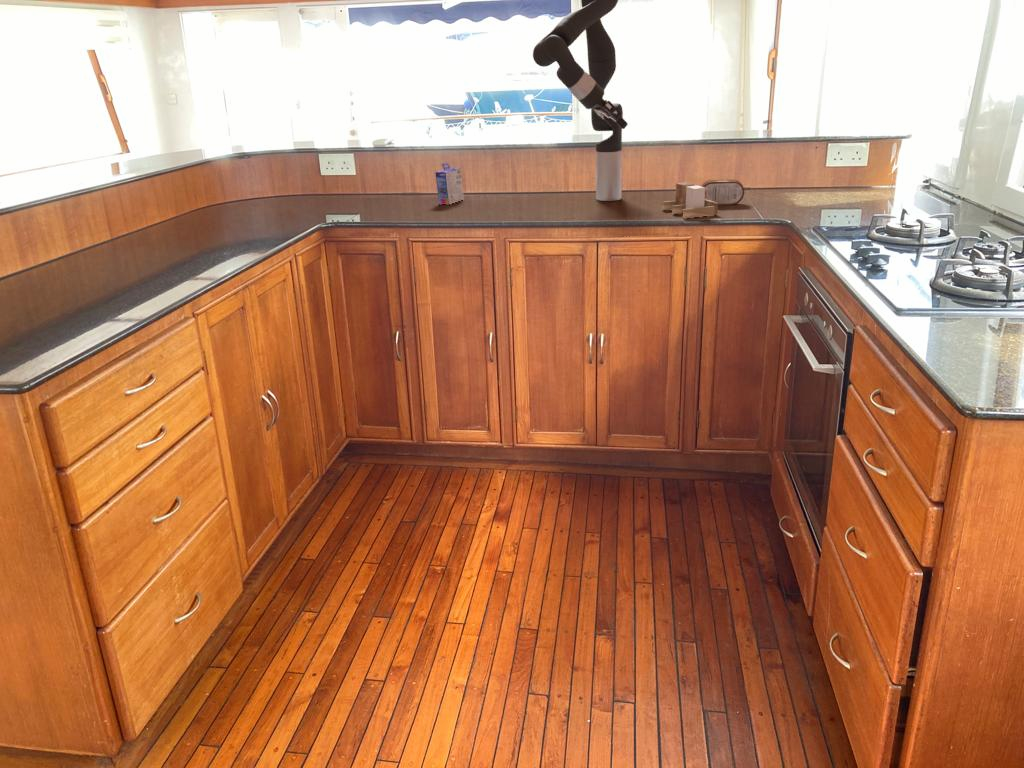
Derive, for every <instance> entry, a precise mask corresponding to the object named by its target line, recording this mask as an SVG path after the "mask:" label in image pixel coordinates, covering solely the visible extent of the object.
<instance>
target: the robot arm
mask: <svg viewBox="0 0 1024 768" xmlns="http://www.w3.org/2000/svg"><path fill="white" fill-rule="evenodd" d="M618 2H619V0H580V3H581V8H578V9H576V10H574V11H572V12H570V13H569V14H567V15H565V16H564V17H563V18H562V19H561V20H560V22H558V24H556V26H555V27H554V28H553V29H552V31H550V32H549V33H548V34H547V35H545V36H544V37H543V38H542V39H541V40H539V41H538V42H537V44H536V45H535V46H534V48H533V50H532V58H533V60H534V63H535V64H536V65H537V66H540V67H541V68H542V67H548V66H550V65H552V64H553V63H555V62H556V63H557V64H558V66H559V67H558V68H557V71H556V77H557V78H558V80H559V81H561V82H562V84H563V85H564V86H565V87H566V88H567V89H568V90H569V92H570V93H571V94H572V96H574V98H576V99H577V100H578V102H579V103H580V104H581V105H583V107H584V108H585V109H586V110H590V115H591V116H590V117H591V119H590V120H591V125H592V128H593V130H594V131H595V132H612V133H611V135H610V136H609V137H607V138H605V139H604V140H601V141H598V142H597V143H595V181H596V182H595V186H596V187H595V193H596V194H595V198H596V200H597V201H601V202H612V201H613V202H614V201H620V200H621V199H622V182H623V180H622V177H623V176H622V175H623V174H622V171H623V170H622V168H623V167H622V166H623V165H622V162H623V158H622V155H623V154H622V152H623V149H622V147H623V144H622V143H623V141H622V140H623V139H622V137H623V130H624V129H625V128H626V127H628V122H627V121H626V120H625V119H624V118H623V117H624V111H623V106H622V105H621V104H620V103H613V102H611V101H610V100H606V99H605V100H604V95H605V89H606V88H607V86H608V84H609V83H610V81H611V80H612V78H613V76H614V73H615V72H616V69H617V60H616V58H617V57H616V48H615V46H614V42H613V40H612V39H611V37H610V35H609V34H608V32H607V31H606V29H605V27H604V25H603V22H602V20H601V19H602V18H603V17H604V16H606V15H608V14H610V12H612V11H613V10H614V9H615V7H616V6H617V4H618ZM584 32H585V34H586V35H585V36H586V45H587V46H586V47H587V65H588V72H586V71H585V69H583V67H581V65H580V64H579V63H578V62H577V61H576V59H575V57H574V56H573V54H572V52H571V50H570V49H569V47H570V46H571V45H572V44H573V43H575V41H576V40H577V39H578V38H579V37H580V35H582V33H584Z"/></svg>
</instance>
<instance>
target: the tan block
mask: <svg viewBox="0 0 1024 768" xmlns="http://www.w3.org/2000/svg"><path fill="white" fill-rule="evenodd" d="M687 186H695V184H694V183H691V182H686V181H685V182H678V183H677V182H676V183H675V201H676V203H675V205H683V204H686V187H687Z"/></svg>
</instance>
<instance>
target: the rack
mask: <svg viewBox="0 0 1024 768" xmlns="http://www.w3.org/2000/svg"><path fill="white" fill-rule="evenodd" d="M675 203H676V200H670V201H662V204H661V211H662V210H670V209H672V210H671V211H672V212H671V215H672V214H679V215H682V220H687V218H690V219H695V218H694V217H699V218H704V217H703V216H707V217H714V215H716V216H718V206H719V205H718V203H717V202H713V201H710V200H707V199H705V201H704V207H700V208H691V209H686V204H683V205H675ZM682 213H683V214H682Z"/></svg>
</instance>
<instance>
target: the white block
mask: <svg viewBox="0 0 1024 768" xmlns="http://www.w3.org/2000/svg"><path fill="white" fill-rule="evenodd" d="M701 186H702V185H701ZM701 186H700V185H694V186H687V187H686V209H691V208H700V207H704V201H705V187H701Z"/></svg>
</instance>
